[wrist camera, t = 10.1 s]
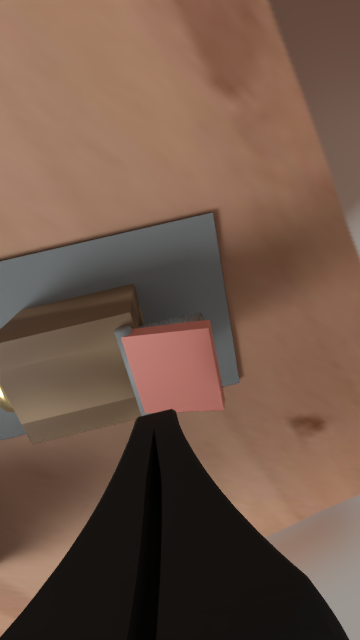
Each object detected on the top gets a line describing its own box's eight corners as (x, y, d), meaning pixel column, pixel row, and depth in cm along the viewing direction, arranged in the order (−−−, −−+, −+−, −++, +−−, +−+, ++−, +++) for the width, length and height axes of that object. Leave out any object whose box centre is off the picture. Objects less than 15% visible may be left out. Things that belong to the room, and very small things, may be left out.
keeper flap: (225, 402, 15) (224, 413, 15) (143, 406, 16) (138, 416, 16) (209, 315, 14) (207, 323, 13) (117, 326, 15) (111, 334, 14)
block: (156, 365, 21) (159, 413, 17) (56, 389, 21) (32, 444, 16) (133, 283, 19) (130, 312, 14) (21, 309, 19) (-19, 347, 14)
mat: (238, 379, 23) (239, 382, 22) (-15, 440, 22) (-17, 444, 22) (211, 212, 18) (212, 212, 18) (-108, 285, 18) (-114, 287, 17)
